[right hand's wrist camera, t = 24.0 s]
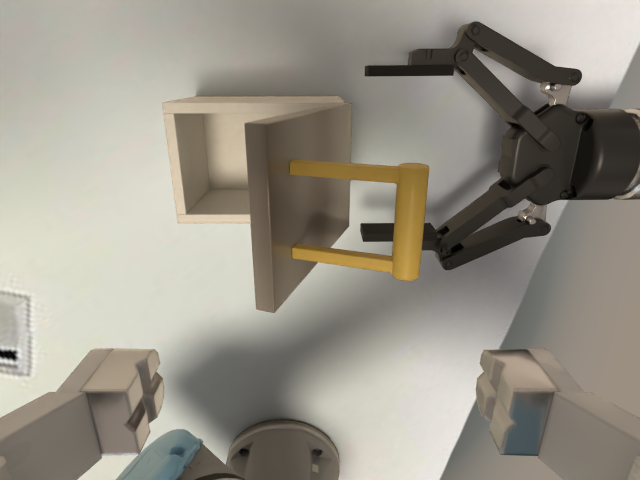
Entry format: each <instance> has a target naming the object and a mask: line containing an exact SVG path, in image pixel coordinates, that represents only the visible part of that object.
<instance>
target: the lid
mask: <svg viewBox="0 0 640 480" xmlns="http://www.w3.org/2000/svg"><path fill="white" fill-rule="evenodd" d="M244 128H245V143H246V159H247V174H248V190H249V206H250V221H251V237H252V252H253V268H254V283H255V299H256V309H257V310H262V311H267V312H272V313H275V312H276V311H277V309H278V308H279V307H280V306H281V305H282V304H283V302H284V301H285V300H286V299H287V298H288V297H289V295H290V294H291V293H292V292H293V291H294V290H295V288H296V287H297V286H298V285H299V284H300V283H301V282H302V280H303V279H304V278H305V277H306V276H307V275H308V273H309V272H310V271H311V270H312V269H313V268H314V266H315V265H316V264H317V263H318V262H321V263H328V264H334V265H341V266H348V267H355V268H362V269H369V270H376V271H383V272H390V273H391V274H392V276H393V277H394V278H396V279H399V280H405V281H410V280H415V279H417V278H418V277H419V273H420V262H421V251H422V240H423V230H424V219H425V208H426V198H427V187H428V176H429V166H427V165H425V164H420V163H404V164H400V165H399V166H383V165H369V164H354V163H351V128H352V103H336V104H331V105H326V106H322V107H317V108H312V109H308V110H303V111H298V112H294V113H289V114H284V115H280V116H275V117H270V118H266V119H261V120H256V121H252V122H247V123H245V124H244ZM350 180H362V181H375V182H388V183H397V191H396V206H395V221H394V236H393V251H392V256H386V255H378V254H371V253H363V252H356V251H348V250H341V249H333V248H331V247H332V245H333V244H334V243H335V242H336V241H337V240H338V238H339V237H340V236H341V235H342V234H343V233H344V231H345V230H346V229H347V228H348V227H349V208H350Z"/></svg>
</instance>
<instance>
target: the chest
mask: <svg viewBox="0 0 640 480" xmlns="http://www.w3.org/2000/svg"><path fill="white" fill-rule="evenodd" d="M336 103H344V101H343V100H342V99H341V98H340V97H339V96H195V97H189V98H184V99H179V100H174V101H168V102H163V103H162V105H163V113H164V121H165V128H166V136H167V144H168V151H169V159H170V167H171V174H172V182H173V190H174V197H175V205H176V213H177V220H178V223H251V221H250V206H249V190H248V174H247V159H246V143H245V128H244V124H245V123H247V122H252V121H256V120H261V119H266V118H270V117H275V116H280V115H284V114H289V113H294V112H298V111H303V110H308V109H312V108H317V107H322V106H326V105H331V104H336Z"/></svg>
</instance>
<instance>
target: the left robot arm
mask: <svg viewBox="0 0 640 480" xmlns="http://www.w3.org/2000/svg"><path fill="white" fill-rule="evenodd" d="M457 34H458V36H457V38H456V41H455V43H454V45H453V46H452V47H450V48H449V49H417V50H414V51H411V52H409V58H408V65H390V66H365V76H453V74H454V70H455V71H456V72H457V73H458V74H459V75H460V76H461V77H462V78H463V79H464V80H465V81H466V82H467V83H468V84H469V85H470V86H471V87H472V88H474V89H475V90H476V91H477V92H478V93H479V94H480V95H481V96H482V97H483V98H484V99H485V100H486V101H487V102H488V103H489V104H490V105H491V106H492V107H493V108H494V109H495V110H496V111H497V112H498V113H499V115H500V117H501V118H502V119H503V120H504V121H505V122H506V123H507V124H508V125H509V126H510V127H511V128H510V129H509V131H508V132H507V134H506V136H503V139H502V152H503V154H502V157H501V159H500V162H499V166H498V172H500V175H501V179H499V180H498V181H497V182H495V183H494V184H493V185H492V186H490V188H489V190H488V191H487V192H486V193H485V194H483V195H482V196H481V197H479V198H478V199H477V200H475V201H474V202H473V203H471V204H470V205H468V206H467V207H466V208H464V209H463V210H462V211H460V212H459V213H458V214H456V215H455V216H454V217H452V218H451V219H450V220H448V221H447V222H446V223H444V224H443V225H442V226H440V227H439V228H438V229H436V230H435V229H434V227H433V226H432V225H431V223H424V230H423V240H422V250H433V251H435V253H436V254H435V255H436V257H437V259H438V261H439V262H440V264H441V265H442V267H443V268H444V269H445V270H452V269H454V268H456V267H458V266H461V265H463V264H465V263H468V262H470V261H472V260H475V259H477V258H479V257H481V256H484V255H486V254H488V253H491V252H493V251H495V250H497V249H500V248H502V247H504V246H507V245H509V244H511V243H513V242H516V241H518V240H520V239H523V238H527V237H536V236H544V235H547V234H548V233H549V232H550V230H551V226H550V225H549V224H548V223H547V222H545V219H546V206H547V204H549V203H551V202H553V201H556V200H606V199H612V198H613V199H619V200H628V199H640V109H626V110H620V109H571V108H569V107H567V106H566V104H567V100H568V97H569V94H570V90H571V87H572V86H573V85H576V84H578V83H579V82H580V80H581V78H582V73H581V71H580V70H578V69H572V68H564V67H555V66H554V65H552V64H550V63H548V62H547V61H545V60H543V59H542V58H540V57H538V56H536V55H535V54H533V53H531V52H530V51H528V50H526V49H524V48H523V47H521V46H519V45H518V44H516V43H514V42H513V41H511V40H509V39H507V38H506V37H504V36H502V35H501V34H499V33H497V32H495V31H494V30H492V29H490V28H489V27H487V26H485V25H483V24H482V23H480V22H472V23H469V24H466V25H463V26H461V27H460V28H459V30H458V33H457ZM473 49H476V50H478V51H480V52H481V53H483V54H485V55H487V56H488V57H490V58H492V59H494V60H495V61H497V62H499V63H501V64H502V65H504V66H506V67H508V68H509V69H511V70H513V71H515V72H516V73H518V74H520V75H522V76H523V77H525V78H527V79H529V80H531V81H534V82H538V83H541V84H540V90H541V92H542V93H544V94H546V95H547V96H548V98H549V103H548V104H546V105H544V106H542V107H541V108H539V109H538V110H536V111H535V112H532V111H531V110H530V109H529V108H527V107H526V106H524V105H523V104H522V103H521V102H520V101H519V100H518V99H517V98H516V97H515V96H514V95H513V94H512V93H511V92H510V91H509V90H508V89H507V88H506V87H505V86H504V85H503V84H502V83H501V82H500V81H499V80H498V79H497V78H496V77H495V76H494V75H493V74H492V73H491V72H490V71H489V70H488V69H487V68H486V67H485V66H484V65H483V64H482V63H481V61H480V60H479V59H478V58H477V57H476V56H475V55H474V54H473V53H472V51H473ZM524 198H525V199H527V200H528V201H530V202H531V203H530V206H529V207H528V208H527V209H525V210H522V211H519V212H518V216H515V217H511V218H507V219H505V220H502V221H500V222H498V223H496V224H494V225H491V226H489V227H487V228H485V229H482V230H480V231H478V232H476V233H473V232H474V231H475V230H477V229H478V228H480V227H481V226H482V225H484V224H485V223H487V222H488V221H489V220H491V219H492V218H493V217H495V216H496V215H498V214H499V213H500V212H502V211H503V210H504V209H506V208H509V207H513V206H515V205H516V204H518V203H519V202H520V201H522V200H523V199H524ZM360 231H361V235H362V239H363V242H380V241H393V236H394V223H361V230H360ZM471 233H473V234H471ZM470 234H471V235H470ZM202 443H203V441H202V439H197V438H196V437H195V436H193V435H192V434H191V433H190V432H188V431H187V430H184V429H176V430H172V431H170V432H167V433H165V434H164V435H162V436H161V437H159V438H158V439H156V440H155V441H154V442H153V443H151V444H150V445H149V446H148V447H146V448H145V449H144V450H143V451H142V452H141V453H140V454H139V455H138V456H137V457H136V458H135V459H134V460H133V461H132V462H131V463H130V464H129V465H128V466H127V467H126V469H125V470H124V471H123V472H122V473H121V474H120V475H119V477H118V478H117V479H116V480H338V478H339V458H338V453H337V450H336V448H335V446H334V445H333V443H332V442H331V440H330V439H329V438H328V437H327V436H326V435H325V434H323V433H322V432H321V431H319V430H318V429H316V428H314V427H312V426H310V425H307V424H304V423H301V422H297V421H291V420H273V421H267V422H263V423H259V424H257V425H254V426H252V427H250V428H248V429H247V430H245V431H244V432H242V433H241V434H240V435H239V436H238V437H237V438H236V439H235V440H234V442H233V443H232V445H231V447H230V450H229V454H228V458H227V462H226V465H225V464H224V463H223V462H222V461H220V460H219V459H218V458H217V457H216V456H215V455H214V454H213V453H212V452H211V451H210V450H209V449H208V448H206V447H205V446H204V445H203V444H202Z"/></svg>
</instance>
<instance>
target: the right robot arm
mask: <svg viewBox="0 0 640 480" xmlns="http://www.w3.org/2000/svg"><path fill="white" fill-rule="evenodd" d="M159 365H160V360H159V355H158V352H157V351H156V350H155V349H93V350H91V351H90V352H89V353H88V354H87V355H86V357H85V358H84V359H83V360H82V361H81V363H80V364H79V365H78V366H77V367H76V368H75V370H74V371H73V372H72V373H71V374H70V376H69V377H68V378H67V379H66V380H65V382H64V383H63V384H62V385H61V386H60V388H59V389H58V390H57V391H56V392H49V393H47V394H45V395H43V396H41V397H39V398H37V399H35V400H33V401H31V402H30V403H28V404H26V405H24V406H22V407H20V408H18V409H16V410H14V411H12V412H11V413H9V414H7V415H5V416H3V417H1V418H0V480H77V479H78V478H79V477H80V476H82V475H83V474H84V473H85V472H86V471H87V470H89V469H90V468H91V467H92V466H93V465H94V464H96V463H97V462H98V461H99V460H100V459H101V458H102V456H117V455H139V454H140V452H141V450H142V448H143V446H144V444H145V442H146V440H147V438H148V436H149V433H150V428H149V423H150V422H152V421H153V420H154V419H156V418H157V417H158V414H159V412H160V410H161V407H162V402H163V398H164V384H163V378H162V377H161V376H160V375H159V374H158V373H157V372H156V370H157V369H158V367H159ZM480 365H481V367H482V369H483V370H484V372H483V373H482V374H481V375H480V376H479V377H478V378H477V385H476V396H477V403H478V407H479V410H480V412H481V414H482V417H483V418H484V419H486V420H487V421H489V422H490V423H491V428H490V433H491V436H492V438H493V440H494V442H495V444H496V446H497V448H498V450H499V452H500V454H501V455H523V456H538V458H539V459H540V460H541V461H542V462H544V463H545V464H546V465H547V466H548V467H549V468H551V469H552V470H553V471H554V472H555V473H556V474H557V475H559V476H560V477H561V478H562V479H563V480H640V418H639V417H637V416H635V415H633V414H631V413H629V412H627V411H626V410H624V409H622V408H620V407H618V406H616V405H614V404H612V403H610V402H608V401H607V400H605V399H603V398H601V397H599V396H597V395H595V394H593V393H591V392H584V391H583V390H582V389H581V388H580V386H579V385H578V384H577V383H576V382H575V380H574V379H573V378H572V377H571V376H570V375H569V373H568V372H567V371H566V370H565V369H564V367H563V366H562V365H561V364H560V363H559V361H558V360H557V359H556V358H555V357H554V356H553V354H552V353H551V352H550V351H549V350H547V349H545V348H537V349H520V350H484V351H483V353H482V355H481V360H480Z"/></svg>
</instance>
